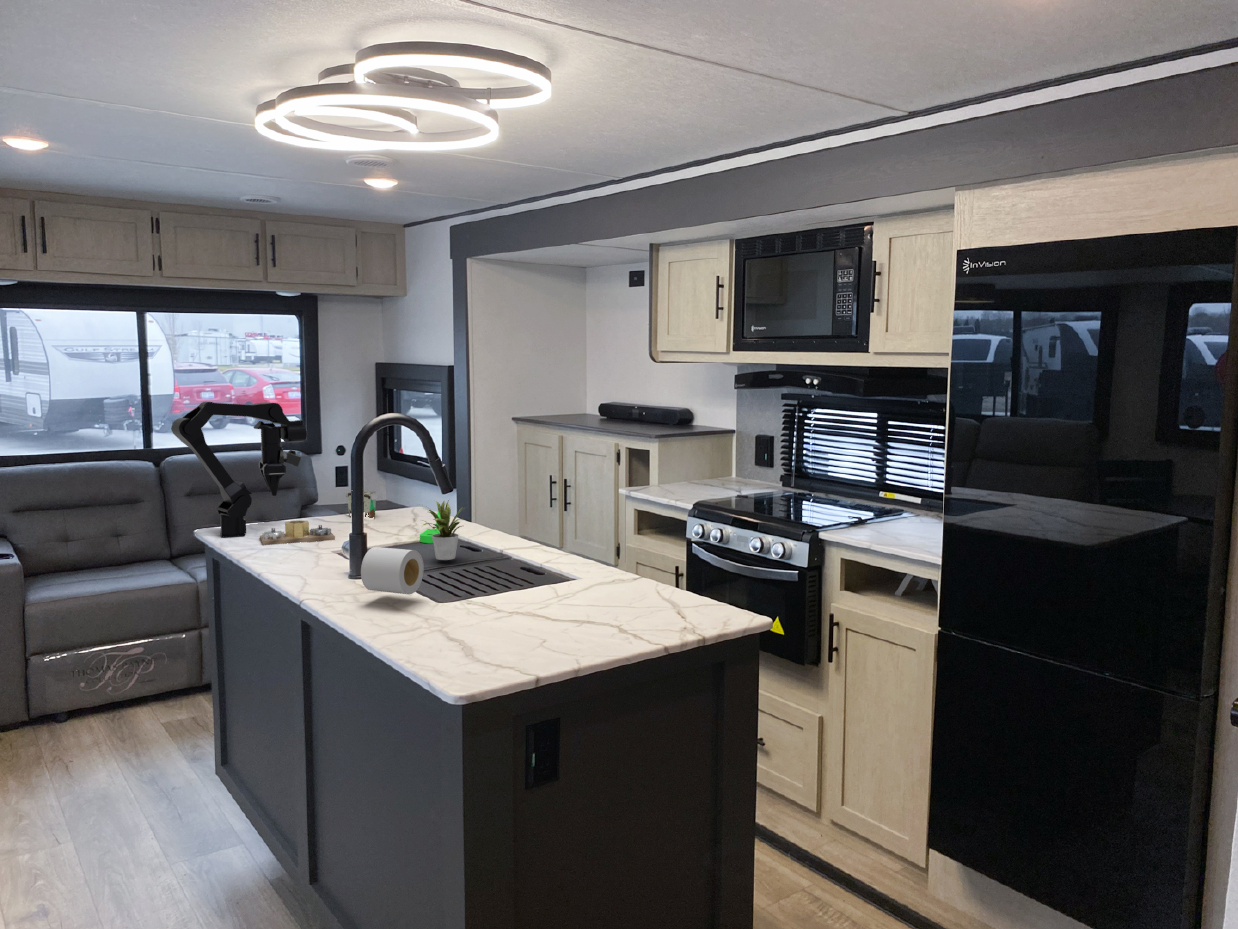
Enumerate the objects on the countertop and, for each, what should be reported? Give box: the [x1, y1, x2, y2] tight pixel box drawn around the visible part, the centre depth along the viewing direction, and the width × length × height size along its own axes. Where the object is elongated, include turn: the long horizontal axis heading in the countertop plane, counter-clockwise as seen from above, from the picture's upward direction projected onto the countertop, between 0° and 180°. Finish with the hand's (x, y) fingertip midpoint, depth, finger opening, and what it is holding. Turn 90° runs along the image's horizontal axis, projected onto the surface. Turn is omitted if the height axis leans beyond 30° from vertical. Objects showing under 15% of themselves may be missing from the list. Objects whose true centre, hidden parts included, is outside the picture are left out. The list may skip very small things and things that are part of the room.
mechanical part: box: [419, 511, 441, 544], centre depth 274 cm, size 12×6×8 cm, turn 177°
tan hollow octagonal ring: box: [284, 519, 310, 538], centre depth 269 cm, size 6×6×4 cm
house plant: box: [417, 498, 465, 561], centre depth 246 cm, size 14×14×16 cm
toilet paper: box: [360, 546, 425, 595], centre depth 208 cm, size 10×10×10 cm
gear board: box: [259, 531, 336, 546], centre depth 269 cm, size 20×10×5 cm, turn 116°
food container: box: [345, 489, 379, 518], centre depth 303 cm, size 12×6×10 cm, turn 58°
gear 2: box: [309, 524, 332, 536], centre depth 272 cm, size 6×6×3 cm
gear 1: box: [261, 527, 285, 539], centre depth 267 cm, size 6×6×3 cm
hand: (272, 493), depth 281 cm, fingers open, 9 cm apart
